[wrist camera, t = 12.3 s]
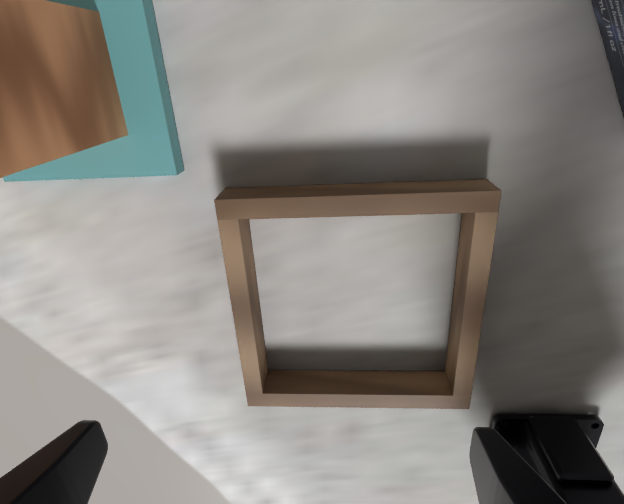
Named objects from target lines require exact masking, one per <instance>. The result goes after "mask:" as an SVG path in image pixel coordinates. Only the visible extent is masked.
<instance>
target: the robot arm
mask: <svg viewBox="0 0 624 504" xmlns="http://www.w3.org/2000/svg"><path fill="white" fill-rule="evenodd" d="M603 426H604V424H603V422H602V421H601V419H600V418H599V417H598V416H596V415H553V414H498V415H496V416H495V417H494V418H493V420H492V426H491V428H490V427H476V428H474V430H473V434H472V441H471V447H470V463H471V468H472V472H473V477H474V481H475V486H476V491H477V495H478V500H479V504H624V494H623V493H622V491H621V490H620V488H619V487H618V485H617V483H616V482H615V480H614V476H613V474H612V473H611V471H610V470H609V468H608V466H607V465H606V463H605V462H604V460H603V459H602V457H601V456H600V454H599V453H598V451H597V450H596V447H597V444H598V441H599V438H600V435H601V432H602V429H603ZM107 450H108V444H107V440H106V438H105V435H104V432H103V430H102V427H101V425H100V423H99V422H98V421H95V420H94V421H93V420H83V421H80V422H78V423H76V424H75V425H74V426H72V427H71V428H70V429H68V430H67V431H65V432H64V433H62V434H61V435H60V436H58V437H57V438H56V439H54V440H53V441H51V442H50V443H49V444H47V445H46V446H44V447H43V448H42V449H40V450H39V451H37V452H36V453H35V454H33V455H32V456H30V457H29V458H28V459H26V460H25V461H23V462H22V463H21V464H19V465H18V466H16V467H15V468H14V469H12V470H11V471H10V472H8V473H7V474H5V475H4V476H2V477H1V478H0V504H88V501H89V498H90V496H91V493H92V491H93V488H94V486H95V483H96V480H97V478H98V475H99V472H100V470H101V467H102V465H103V462H104V459H105V457H106V454H107Z"/></svg>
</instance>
